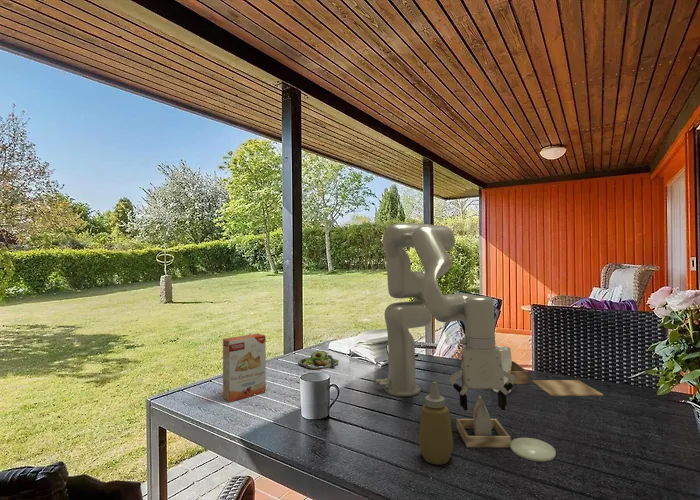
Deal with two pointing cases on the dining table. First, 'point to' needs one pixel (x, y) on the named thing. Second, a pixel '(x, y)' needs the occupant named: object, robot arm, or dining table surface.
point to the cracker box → (244, 366)
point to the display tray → (519, 374)
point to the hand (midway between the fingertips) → (483, 408)
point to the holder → (483, 441)
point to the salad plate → (318, 360)
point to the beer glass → (505, 362)
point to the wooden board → (566, 388)
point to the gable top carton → (481, 419)
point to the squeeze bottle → (435, 428)
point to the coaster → (533, 449)
